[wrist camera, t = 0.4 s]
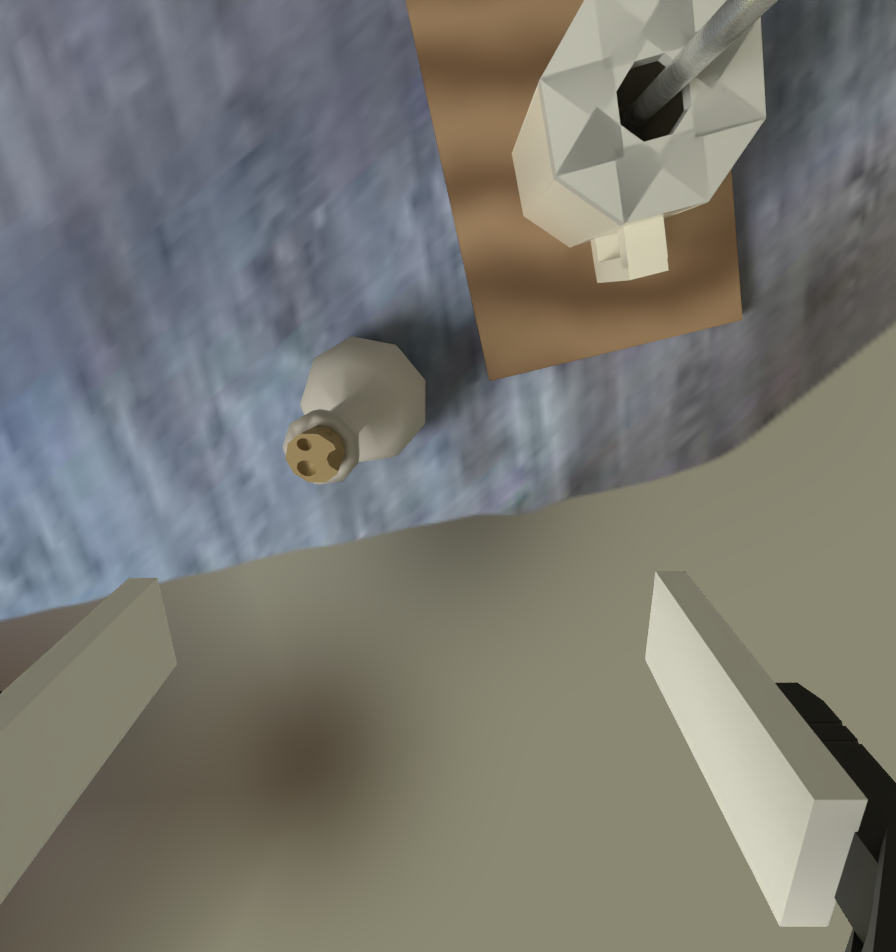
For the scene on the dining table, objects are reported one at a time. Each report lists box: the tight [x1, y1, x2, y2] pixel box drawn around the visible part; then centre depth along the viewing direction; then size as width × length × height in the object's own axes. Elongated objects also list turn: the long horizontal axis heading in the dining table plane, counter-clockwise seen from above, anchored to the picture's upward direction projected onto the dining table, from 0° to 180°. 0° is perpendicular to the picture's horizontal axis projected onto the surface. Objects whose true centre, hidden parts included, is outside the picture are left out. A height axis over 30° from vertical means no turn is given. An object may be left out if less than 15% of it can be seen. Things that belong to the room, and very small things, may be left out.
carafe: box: [512, 0, 766, 283], centre depth 29 cm, size 12×9×13 cm
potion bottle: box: [283, 336, 425, 485], centre depth 33 cm, size 9×9×18 cm
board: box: [405, 0, 742, 381], centre depth 36 cm, size 24×18×2 cm
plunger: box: [620, 0, 778, 133], centre depth 17 cm, size 4×4×20 cm
